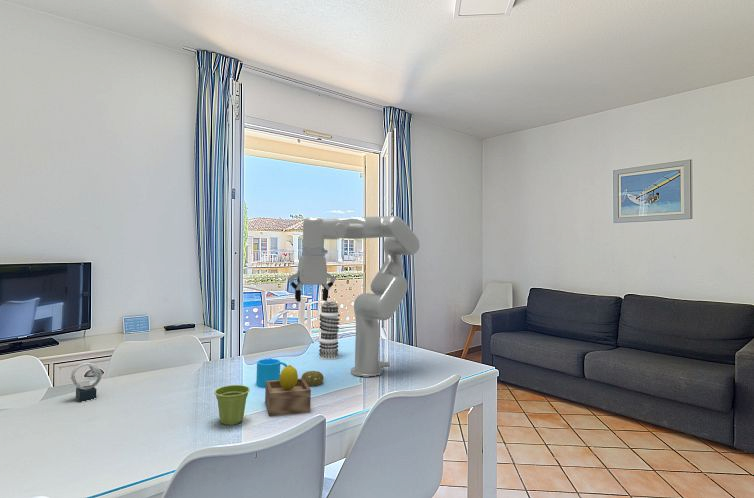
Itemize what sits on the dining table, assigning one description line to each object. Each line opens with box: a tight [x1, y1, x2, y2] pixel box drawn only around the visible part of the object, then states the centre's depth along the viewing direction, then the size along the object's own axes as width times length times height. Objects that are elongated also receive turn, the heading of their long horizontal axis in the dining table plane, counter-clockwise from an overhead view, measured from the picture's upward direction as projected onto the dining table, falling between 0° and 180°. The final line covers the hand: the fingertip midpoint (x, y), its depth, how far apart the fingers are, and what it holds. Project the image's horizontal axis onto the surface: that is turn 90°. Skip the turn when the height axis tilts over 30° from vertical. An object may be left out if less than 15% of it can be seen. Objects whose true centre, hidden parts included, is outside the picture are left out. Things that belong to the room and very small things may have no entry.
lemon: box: [279, 364, 299, 391], centre depth 131 cm, size 6×6×8 cm
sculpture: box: [301, 370, 324, 387], centre depth 154 cm, size 8×4×8 cm
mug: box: [255, 358, 288, 389], centre depth 153 cm, size 12×8×8 cm
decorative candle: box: [318, 301, 341, 361], centre depth 192 cm, size 9×9×25 cm
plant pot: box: [213, 384, 251, 426], centre depth 119 cm, size 9×9×9 cm
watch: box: [70, 362, 103, 403], centre depth 133 cm, size 6×8×11 cm
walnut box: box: [264, 377, 312, 417], centre depth 131 cm, size 12×12×7 cm
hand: (311, 301), depth 151 cm, fingers open, 9 cm apart
